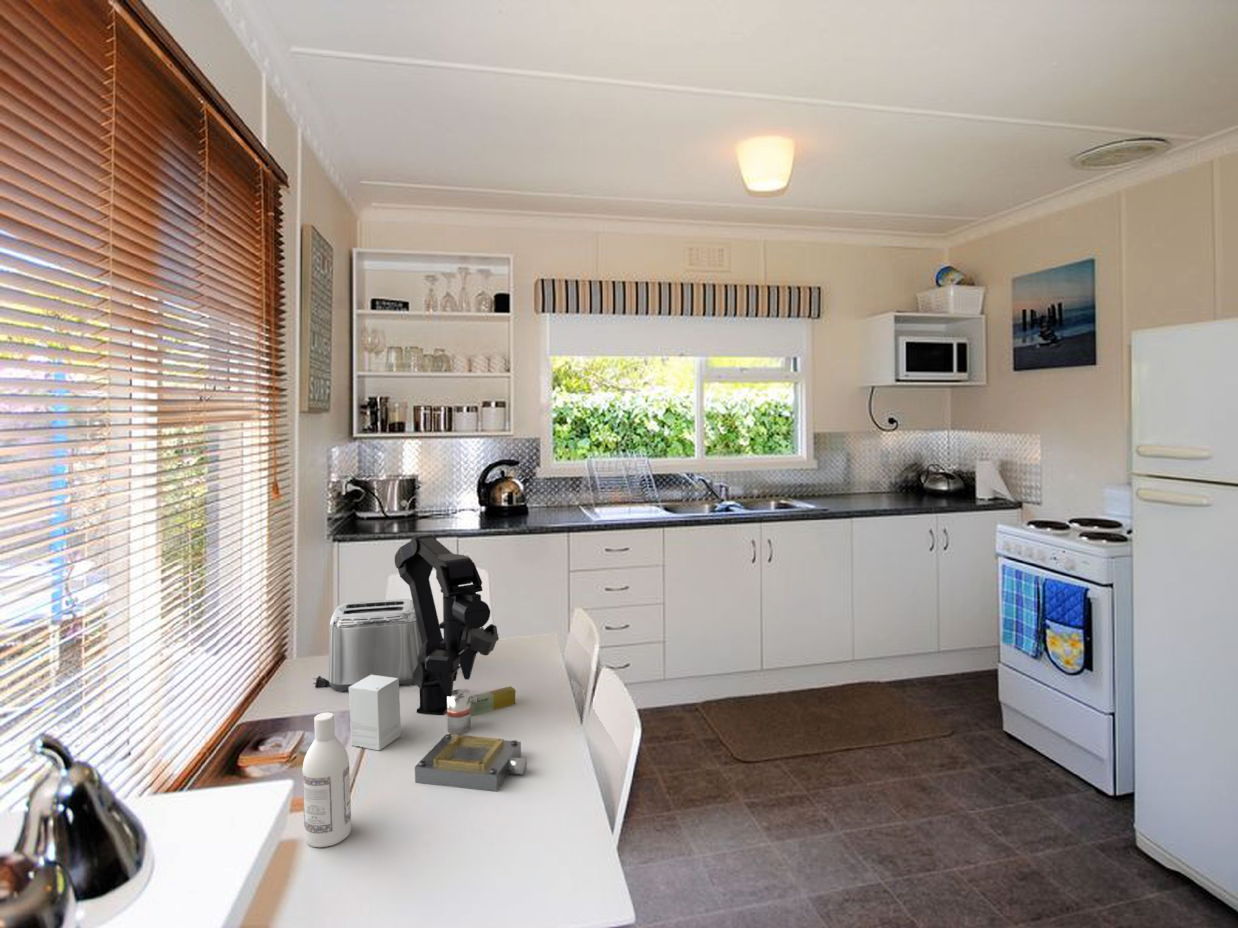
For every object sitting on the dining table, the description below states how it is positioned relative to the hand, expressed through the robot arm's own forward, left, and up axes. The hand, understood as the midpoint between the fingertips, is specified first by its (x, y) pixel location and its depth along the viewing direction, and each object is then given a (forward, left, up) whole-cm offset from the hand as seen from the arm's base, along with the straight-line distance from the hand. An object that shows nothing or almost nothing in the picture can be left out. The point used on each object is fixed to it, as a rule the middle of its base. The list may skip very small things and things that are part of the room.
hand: (458, 687), depth 148 cm
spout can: (0, 0, -9) cm, 9 cm away
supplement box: (-15, -8, -10) cm, 19 cm away
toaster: (-33, +22, -10) cm, 41 cm away
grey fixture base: (+11, -15, -9) cm, 21 cm away
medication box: (+3, +11, -10) cm, 15 cm away
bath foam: (-5, -39, -10) cm, 41 cm away
